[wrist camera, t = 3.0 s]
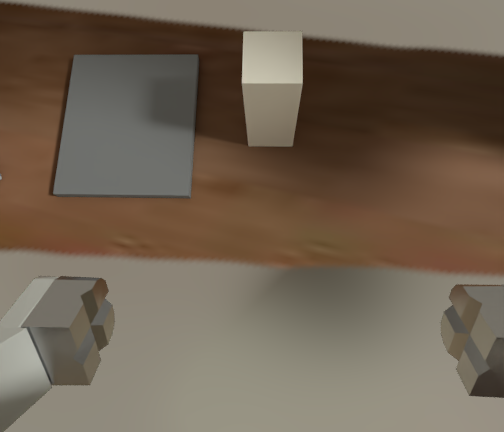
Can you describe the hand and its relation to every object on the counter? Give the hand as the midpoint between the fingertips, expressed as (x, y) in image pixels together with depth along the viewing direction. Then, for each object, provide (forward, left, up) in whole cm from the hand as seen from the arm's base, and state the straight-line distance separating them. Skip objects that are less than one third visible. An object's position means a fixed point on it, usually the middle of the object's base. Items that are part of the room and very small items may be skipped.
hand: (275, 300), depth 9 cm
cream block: (0, -16, -23) cm, 28 cm away
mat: (+13, -16, -23) cm, 31 cm away
